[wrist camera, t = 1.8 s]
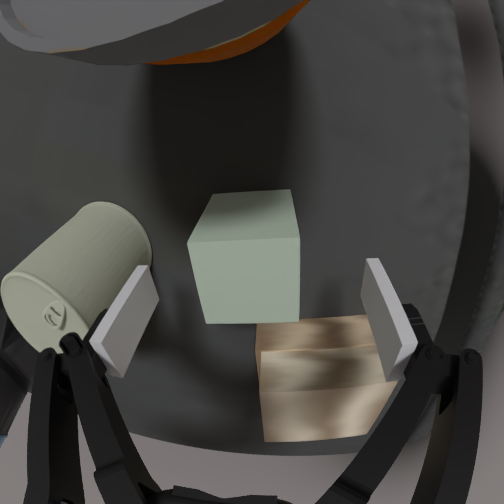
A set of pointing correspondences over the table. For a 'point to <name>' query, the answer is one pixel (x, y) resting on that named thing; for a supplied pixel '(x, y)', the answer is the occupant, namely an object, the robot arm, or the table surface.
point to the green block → (247, 258)
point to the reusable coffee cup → (144, 28)
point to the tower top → (321, 393)
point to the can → (75, 274)
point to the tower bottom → (313, 335)
